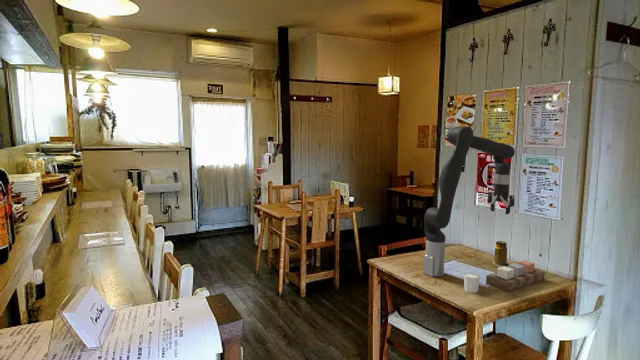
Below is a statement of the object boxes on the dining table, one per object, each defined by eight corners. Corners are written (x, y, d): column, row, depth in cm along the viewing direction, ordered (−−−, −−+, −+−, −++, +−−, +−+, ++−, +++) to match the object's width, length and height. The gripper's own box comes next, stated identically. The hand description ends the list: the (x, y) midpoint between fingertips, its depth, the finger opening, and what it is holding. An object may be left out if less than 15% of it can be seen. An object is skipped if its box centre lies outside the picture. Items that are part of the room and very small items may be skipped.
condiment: (491, 261, 209) (492, 240, 208) (506, 261, 209) (507, 240, 208) (497, 266, 202) (498, 244, 201) (513, 266, 202) (514, 244, 201)
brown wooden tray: (507, 292, 169) (507, 283, 169) (485, 283, 179) (486, 275, 178) (544, 279, 183) (544, 271, 183) (522, 272, 193) (522, 265, 192)
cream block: (506, 279, 173) (507, 271, 173) (496, 276, 178) (497, 267, 177) (513, 277, 176) (514, 269, 175) (503, 274, 180) (504, 266, 180)
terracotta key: (527, 273, 181) (528, 265, 181) (518, 269, 185) (518, 262, 185) (534, 271, 184) (534, 263, 183) (524, 268, 188) (524, 260, 187)
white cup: (460, 287, 175) (461, 272, 174) (474, 286, 175) (475, 272, 175) (467, 293, 168) (468, 278, 167) (482, 293, 169) (483, 277, 168)
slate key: (517, 276, 177) (518, 268, 177) (507, 273, 181) (508, 264, 181) (524, 274, 180) (524, 266, 179) (514, 271, 184) (514, 263, 183)
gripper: (485, 181, 208) (483, 211, 210) (510, 184, 195) (508, 215, 197) (494, 180, 211) (492, 209, 213) (518, 183, 199) (516, 214, 201)
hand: (499, 212), depth 205 cm, fingers open, 8 cm apart
